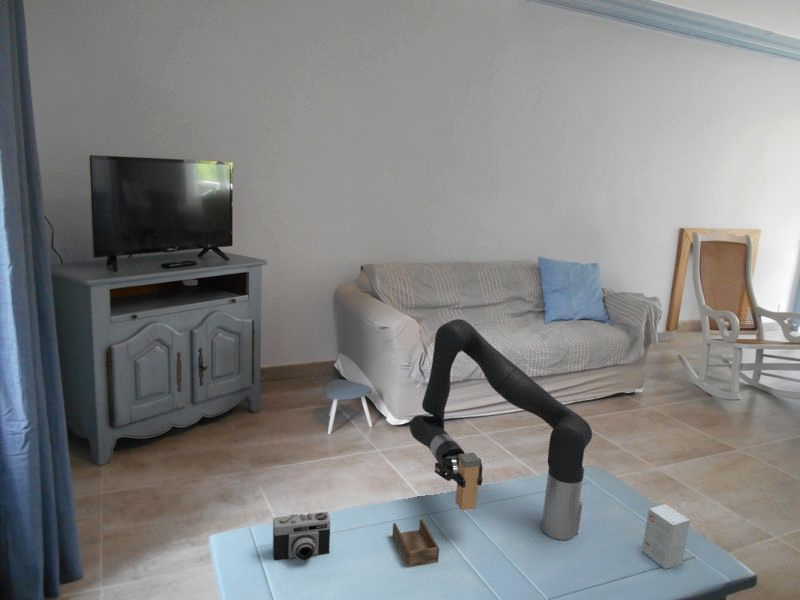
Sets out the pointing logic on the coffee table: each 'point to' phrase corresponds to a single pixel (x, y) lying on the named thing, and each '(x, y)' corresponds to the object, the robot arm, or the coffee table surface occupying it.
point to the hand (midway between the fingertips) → (472, 483)
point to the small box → (665, 536)
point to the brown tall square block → (468, 481)
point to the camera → (301, 536)
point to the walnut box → (416, 545)
